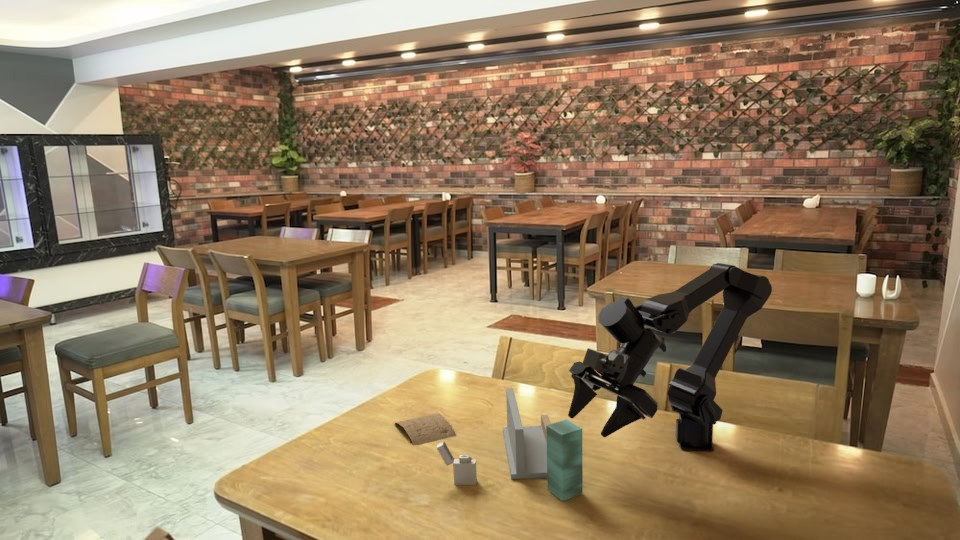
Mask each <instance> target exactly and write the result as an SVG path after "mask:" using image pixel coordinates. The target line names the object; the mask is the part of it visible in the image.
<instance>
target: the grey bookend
mask: <svg viewBox="0 0 960 540" xmlns="http://www.w3.org/2000/svg"><path fill="white" fill-rule="evenodd" d="M505 390H506V391H505V392H506V393H505V394H506V423H507V424H506V426H507V427H502V433H503V439H504V441H503V442H504V446H505V450H506V451H505V452H506V457H507V463H508V467H509V469H508V470H509V473H510V479H511V480H523V479H524V480H525V479H541V478H543V479H544V478H547V432H546V425H550V424H552V422H551V419H550V417H549V414H540V425H526V426H525V425H524V426H523V423H522V418H521V415H520V409H519V406H518V402H517V398H516V395H515V391H514V388H513V387H512V388H505Z"/></svg>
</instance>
